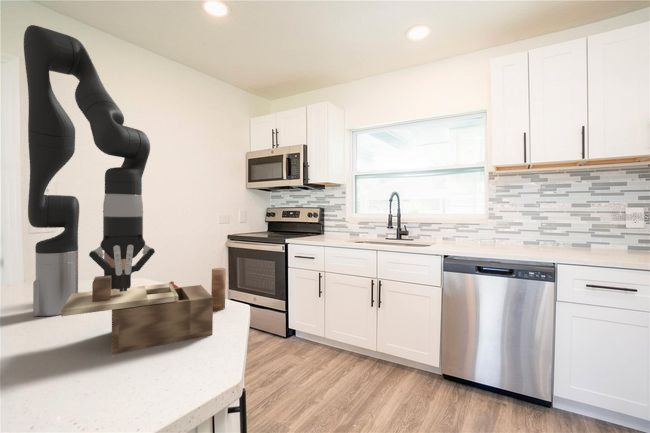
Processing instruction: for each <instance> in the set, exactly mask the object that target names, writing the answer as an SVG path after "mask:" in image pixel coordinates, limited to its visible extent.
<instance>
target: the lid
mask: <svg viewBox="0 0 650 433" xmlns="http://www.w3.org/2000/svg"><path fill="white" fill-rule="evenodd" d="M91 288H92V289H91V290H92V291H83V292H78V293H72V294H71V296H70V297H69V299H68V300H67V302H66V304H65V305H64V307H63V309H62V310H61V314H60V315H61V317H68V316H69V317H70V316H75V315H83V314H88V313H89V314H90V313H91V314H92V313H97V312H98V313H99V312H106V311H112V310H114V309H122V308H129V307H137V306H144V305H152V304H160V303H167V302H175V301H178V294H177V293H176V291H175V289H174V287H173V286H172V284H171V283H170V282H168V283H160V284H149V285H141V286H130V288H127V291H122V292H120V289H111V275H110V276H104V275H100V276H95V277H94V278H93V281H92V286H91ZM164 292H167V293H164ZM155 293H159V294H155ZM147 294H150V295H147Z"/></svg>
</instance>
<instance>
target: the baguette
mask: <svg viewBox="0 0 650 433" xmlns="http://www.w3.org/2000/svg"><path fill="white" fill-rule="evenodd" d="M226 275H227V269H226V268H224V267H214V268H212V269H211V290H210V291H211V292H210V293H211V294H210V295H211V296H212V297H213V311H214V312H217V311H218V312H219V311H223V310H225V309H226V287H227V286H226V284H227V283H226V277H227V276H226Z"/></svg>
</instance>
